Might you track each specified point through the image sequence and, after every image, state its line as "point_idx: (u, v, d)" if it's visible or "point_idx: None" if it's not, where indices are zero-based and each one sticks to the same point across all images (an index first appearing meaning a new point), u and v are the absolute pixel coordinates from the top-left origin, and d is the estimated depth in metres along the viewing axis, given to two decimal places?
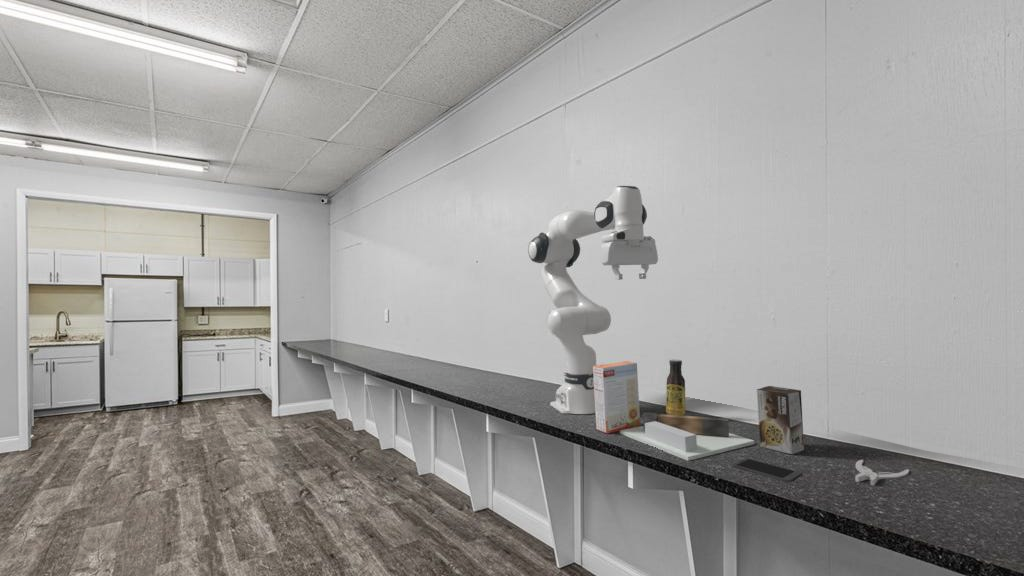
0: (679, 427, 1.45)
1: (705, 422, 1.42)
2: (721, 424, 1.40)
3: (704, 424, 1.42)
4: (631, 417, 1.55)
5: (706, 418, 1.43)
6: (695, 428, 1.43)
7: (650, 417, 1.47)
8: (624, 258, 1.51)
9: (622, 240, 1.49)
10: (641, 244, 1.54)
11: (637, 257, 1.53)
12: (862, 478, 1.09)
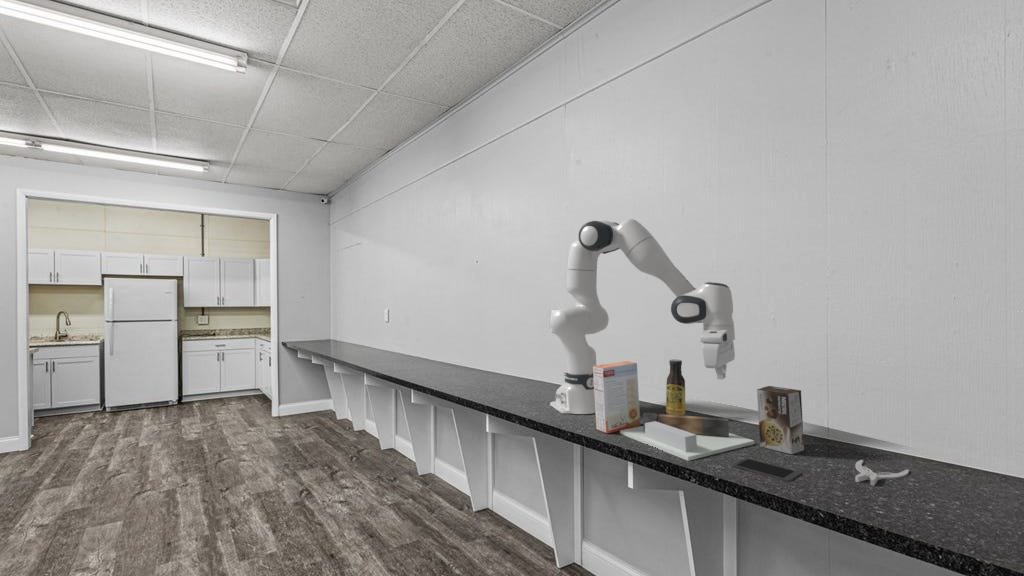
0: (679, 427, 1.45)
1: (705, 422, 1.42)
2: (721, 424, 1.40)
3: (704, 424, 1.42)
4: (631, 417, 1.55)
5: (706, 418, 1.43)
6: (695, 428, 1.43)
7: (650, 417, 1.47)
8: (723, 359, 1.46)
9: (724, 342, 1.44)
10: None
11: (727, 355, 1.50)
12: (862, 478, 1.09)
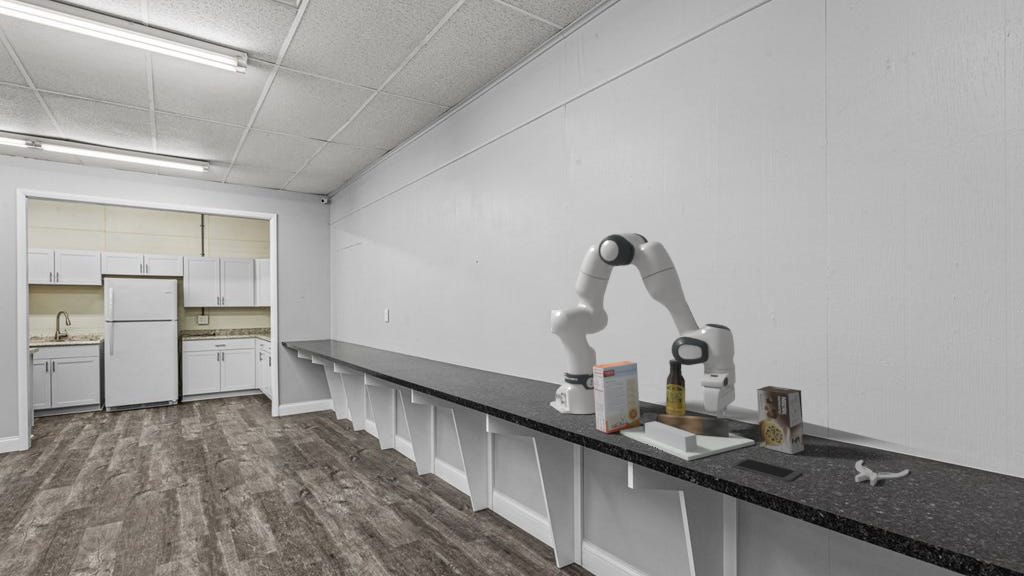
0: (679, 427, 1.45)
1: (705, 422, 1.42)
2: (721, 424, 1.40)
3: (704, 424, 1.42)
4: (631, 417, 1.55)
5: (706, 418, 1.43)
6: (695, 428, 1.43)
7: (650, 417, 1.47)
8: (723, 402, 1.46)
9: (725, 386, 1.44)
10: None
11: (728, 398, 1.50)
12: (862, 478, 1.09)
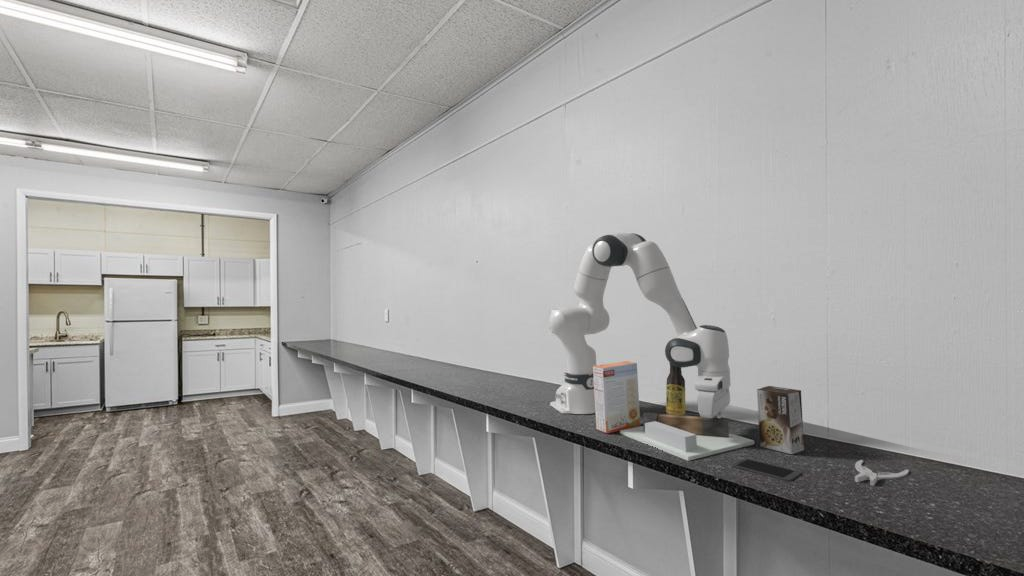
0: (679, 427, 1.45)
1: (705, 423, 1.42)
2: (721, 424, 1.40)
3: (704, 424, 1.42)
4: (631, 417, 1.55)
5: (706, 418, 1.43)
6: (695, 428, 1.43)
7: (650, 417, 1.47)
8: (718, 406, 1.41)
9: (720, 389, 1.39)
10: None
11: (723, 402, 1.45)
12: (862, 478, 1.09)
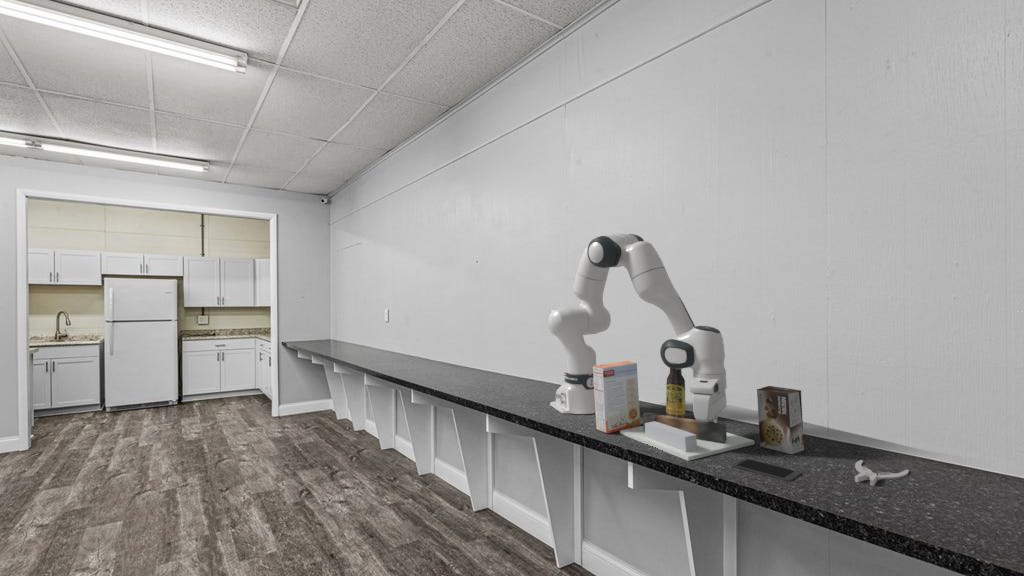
0: None
1: (700, 426, 1.38)
2: (716, 429, 1.35)
3: (700, 428, 1.38)
4: (631, 417, 1.55)
5: (703, 422, 1.39)
6: (691, 431, 1.40)
7: (648, 417, 1.48)
8: (714, 410, 1.36)
9: (716, 392, 1.35)
10: None
11: (719, 405, 1.40)
12: (862, 478, 1.09)
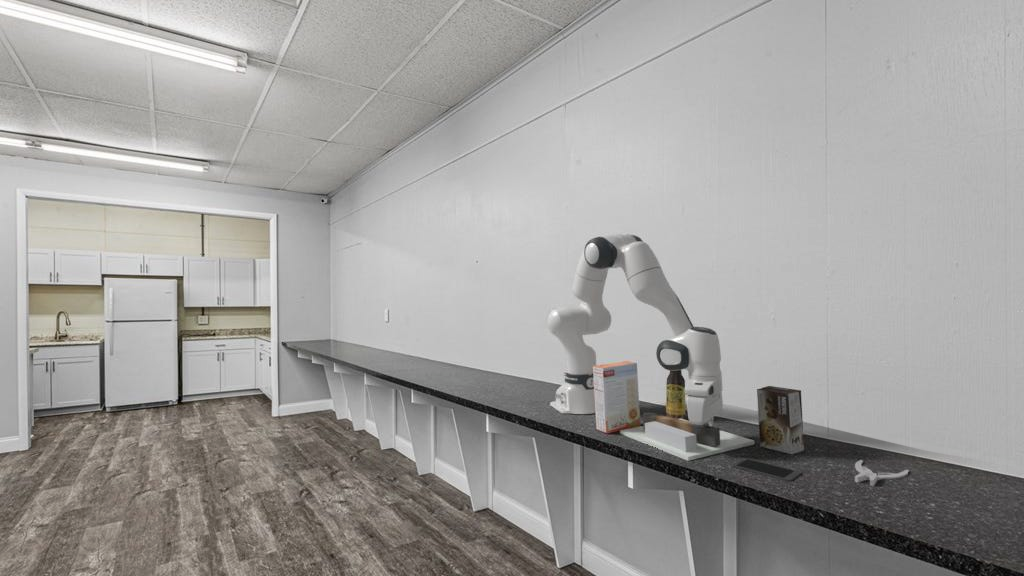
0: None
1: (694, 429, 1.36)
2: (708, 432, 1.32)
3: (693, 430, 1.36)
4: (631, 417, 1.55)
5: None
6: None
7: (646, 417, 1.48)
8: (709, 412, 1.34)
9: (711, 395, 1.32)
10: None
11: (714, 407, 1.38)
12: (862, 478, 1.09)
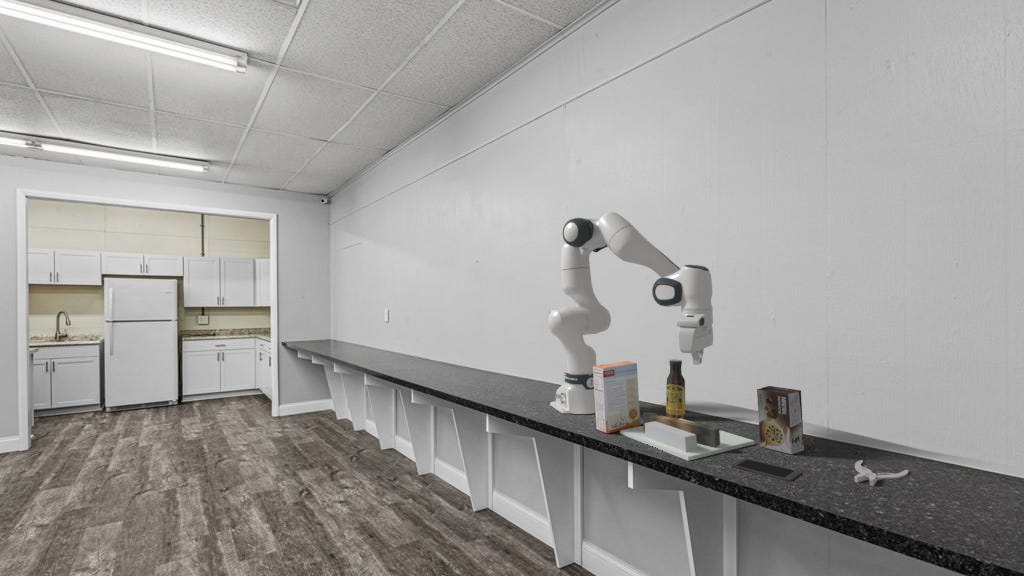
0: None
1: (693, 429, 1.36)
2: (708, 432, 1.32)
3: (693, 430, 1.36)
4: (631, 417, 1.55)
5: (697, 425, 1.36)
6: None
7: (646, 417, 1.48)
8: (699, 343, 1.42)
9: (701, 326, 1.40)
10: None
11: (705, 340, 1.46)
12: (861, 478, 1.09)
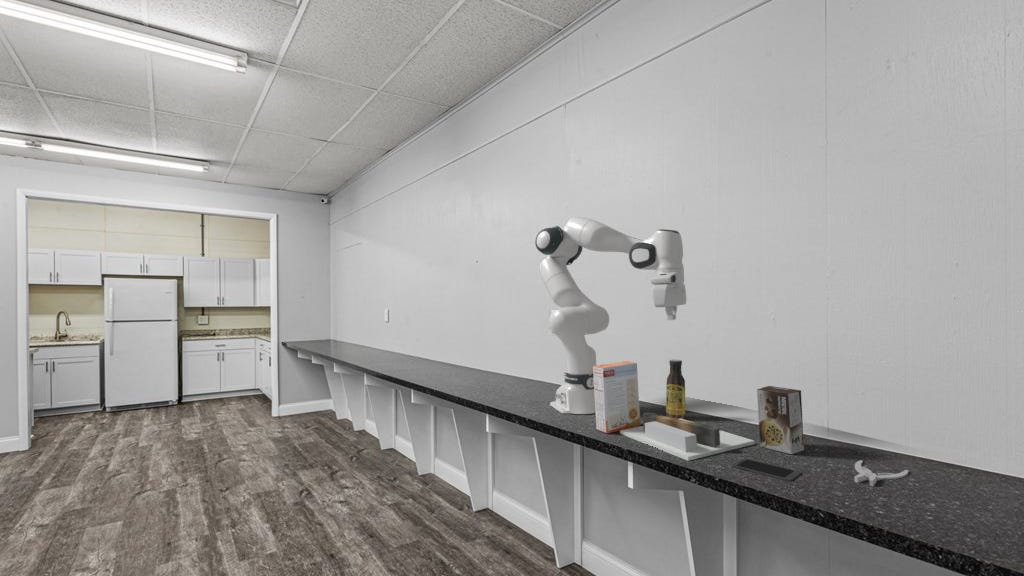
0: None
1: (693, 429, 1.36)
2: (708, 432, 1.32)
3: (693, 430, 1.36)
4: (631, 417, 1.55)
5: (697, 425, 1.36)
6: None
7: (646, 417, 1.48)
8: (672, 300, 1.55)
9: (673, 283, 1.53)
10: (679, 286, 1.61)
11: (677, 298, 1.59)
12: (861, 478, 1.09)
